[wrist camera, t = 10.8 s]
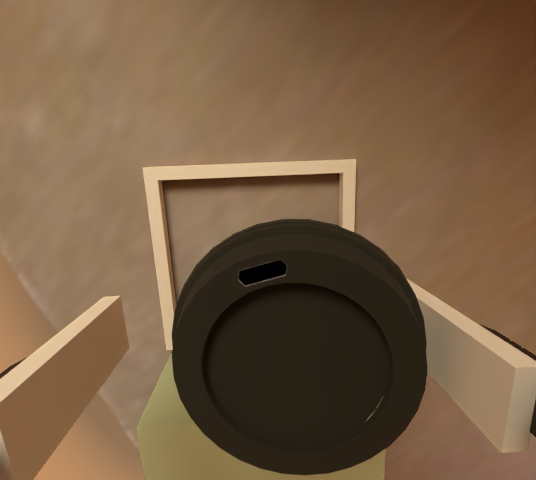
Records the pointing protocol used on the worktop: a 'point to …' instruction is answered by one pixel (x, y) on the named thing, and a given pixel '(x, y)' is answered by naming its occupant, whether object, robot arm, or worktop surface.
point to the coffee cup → (299, 347)
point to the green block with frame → (165, 393)
